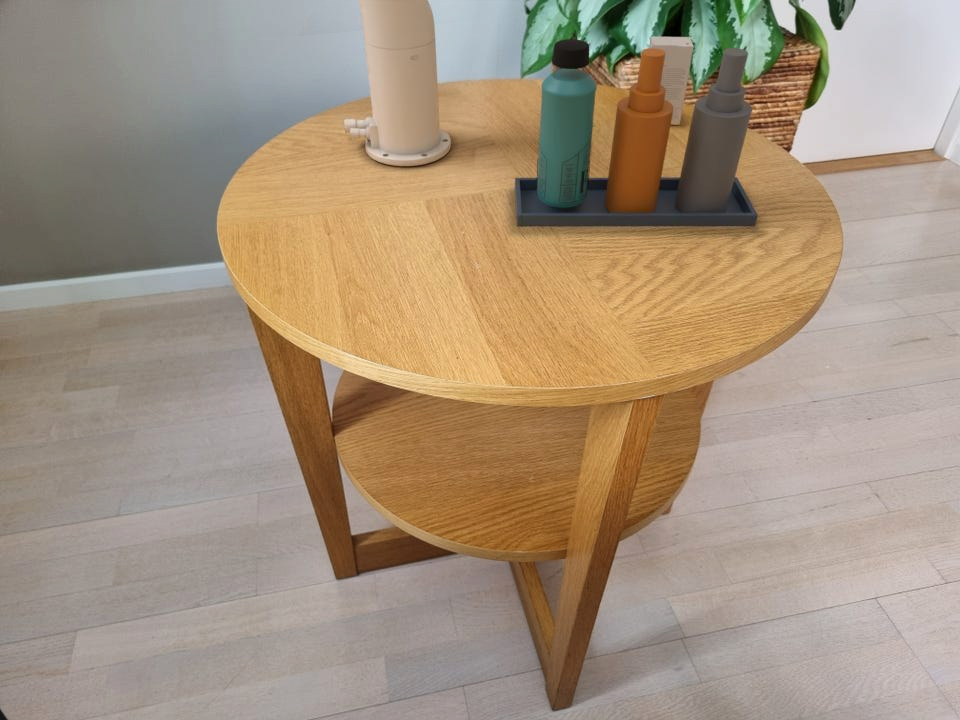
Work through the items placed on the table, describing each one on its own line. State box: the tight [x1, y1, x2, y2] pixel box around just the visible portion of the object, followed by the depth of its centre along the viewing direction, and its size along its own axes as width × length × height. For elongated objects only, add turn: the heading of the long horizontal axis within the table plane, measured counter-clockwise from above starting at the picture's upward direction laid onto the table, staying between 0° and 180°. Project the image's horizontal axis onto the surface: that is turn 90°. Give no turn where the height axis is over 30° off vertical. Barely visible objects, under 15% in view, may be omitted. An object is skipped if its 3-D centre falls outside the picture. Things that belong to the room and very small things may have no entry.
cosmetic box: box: [648, 36, 695, 126], centre depth 107 cm, size 6×4×12 cm
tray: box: [514, 176, 759, 227], centre depth 89 cm, size 29×10×2 cm, turn 90°
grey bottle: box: [675, 47, 753, 213], centre depth 83 cm, size 6×6×19 cm
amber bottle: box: [605, 47, 674, 213], centre depth 83 cm, size 6×6×19 cm
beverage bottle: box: [536, 38, 598, 208], centre depth 83 cm, size 6×7×20 cm
